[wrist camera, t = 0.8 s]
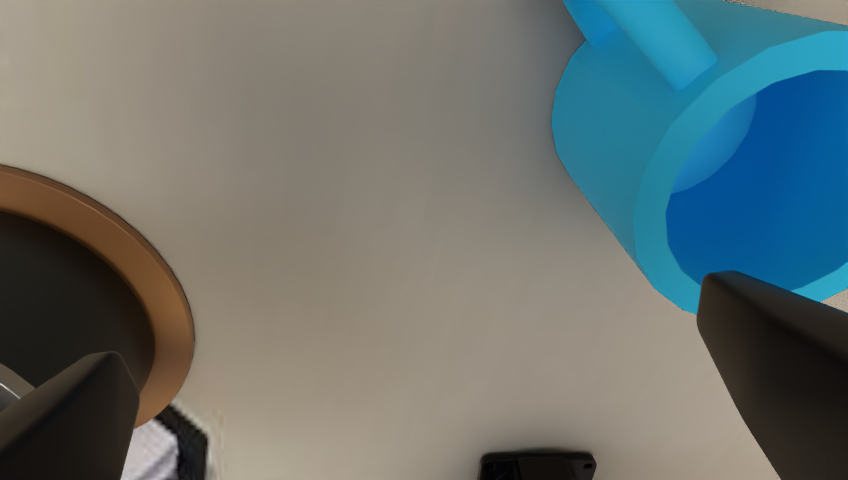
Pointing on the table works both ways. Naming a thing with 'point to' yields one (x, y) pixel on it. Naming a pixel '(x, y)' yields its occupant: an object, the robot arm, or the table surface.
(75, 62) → the table surface
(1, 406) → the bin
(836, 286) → the mug
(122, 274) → the turntable
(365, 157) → the table surface
